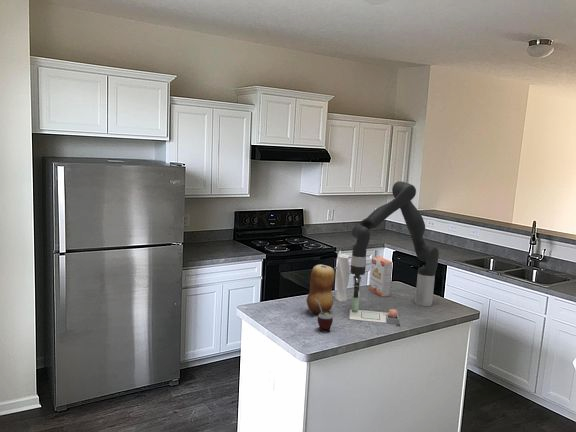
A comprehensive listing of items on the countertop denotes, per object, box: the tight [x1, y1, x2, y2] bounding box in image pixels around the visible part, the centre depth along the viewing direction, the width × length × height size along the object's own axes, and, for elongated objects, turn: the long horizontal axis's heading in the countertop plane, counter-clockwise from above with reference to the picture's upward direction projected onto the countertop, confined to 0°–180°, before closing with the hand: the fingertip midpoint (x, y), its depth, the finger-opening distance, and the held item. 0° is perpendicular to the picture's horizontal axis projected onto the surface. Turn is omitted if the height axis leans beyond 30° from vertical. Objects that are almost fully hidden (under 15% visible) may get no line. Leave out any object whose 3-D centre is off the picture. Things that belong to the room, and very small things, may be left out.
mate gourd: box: [314, 299, 334, 333], centre depth 220 cm, size 8×8×15 cm
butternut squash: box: [305, 264, 336, 315], centre depth 241 cm, size 14×13×25 cm
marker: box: [350, 290, 361, 313], centre depth 245 cm, size 4×4×10 cm
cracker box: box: [369, 255, 394, 298], centre depth 280 cm, size 14×6×21 cm, turn 21°
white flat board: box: [348, 308, 401, 327], centre depth 240 cm, size 16×25×3 cm, turn 81°
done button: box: [388, 308, 398, 318], centre depth 233 cm, size 4×4×3 cm
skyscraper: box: [334, 250, 351, 302], centre depth 262 cm, size 8×8×28 cm
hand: (355, 295), depth 244 cm, fingers open, 8 cm apart
